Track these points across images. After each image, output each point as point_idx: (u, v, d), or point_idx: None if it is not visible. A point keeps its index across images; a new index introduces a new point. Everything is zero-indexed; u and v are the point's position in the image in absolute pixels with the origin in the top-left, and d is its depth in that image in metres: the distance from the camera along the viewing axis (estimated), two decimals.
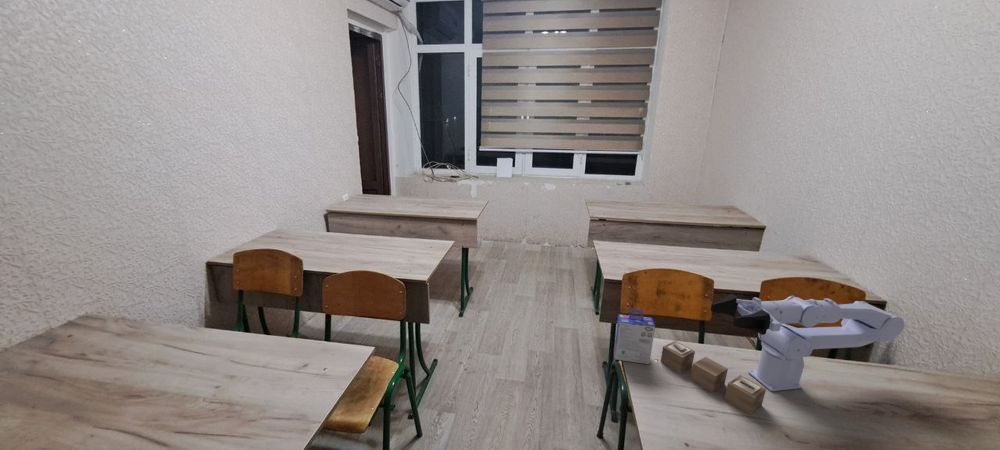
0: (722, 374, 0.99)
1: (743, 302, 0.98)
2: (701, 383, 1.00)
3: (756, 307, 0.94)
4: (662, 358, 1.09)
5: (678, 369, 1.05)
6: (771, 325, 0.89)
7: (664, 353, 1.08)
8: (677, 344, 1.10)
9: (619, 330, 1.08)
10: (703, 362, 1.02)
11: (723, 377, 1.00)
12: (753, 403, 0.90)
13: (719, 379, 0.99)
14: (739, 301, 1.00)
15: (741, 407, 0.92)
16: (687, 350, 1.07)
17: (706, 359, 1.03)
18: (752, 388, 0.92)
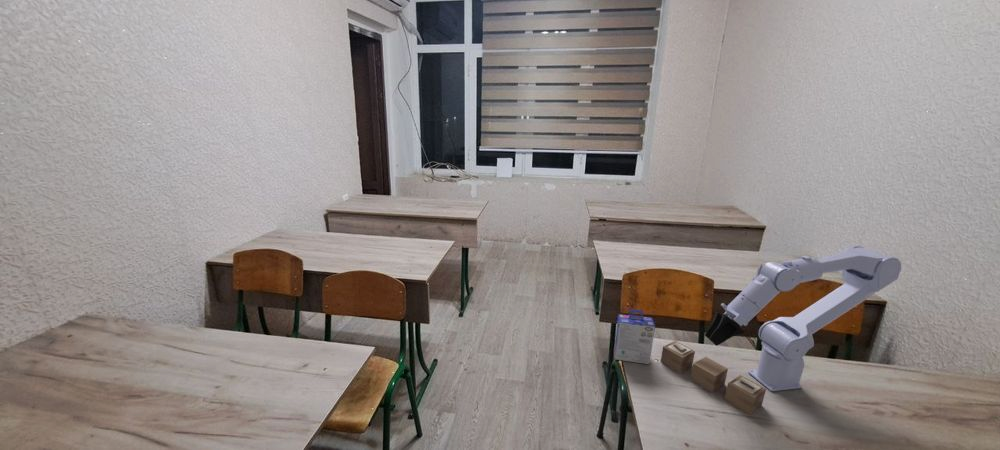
0: (722, 374, 0.99)
1: (726, 311, 1.00)
2: (701, 383, 1.00)
3: (728, 311, 0.96)
4: (662, 358, 1.09)
5: (678, 369, 1.05)
6: (736, 321, 0.90)
7: (664, 353, 1.08)
8: (677, 344, 1.10)
9: (619, 330, 1.08)
10: (703, 362, 1.02)
11: (723, 377, 1.00)
12: (753, 403, 0.90)
13: (719, 379, 0.99)
14: (727, 312, 1.01)
15: (741, 407, 0.92)
16: (687, 350, 1.07)
17: (706, 359, 1.03)
18: (752, 388, 0.92)
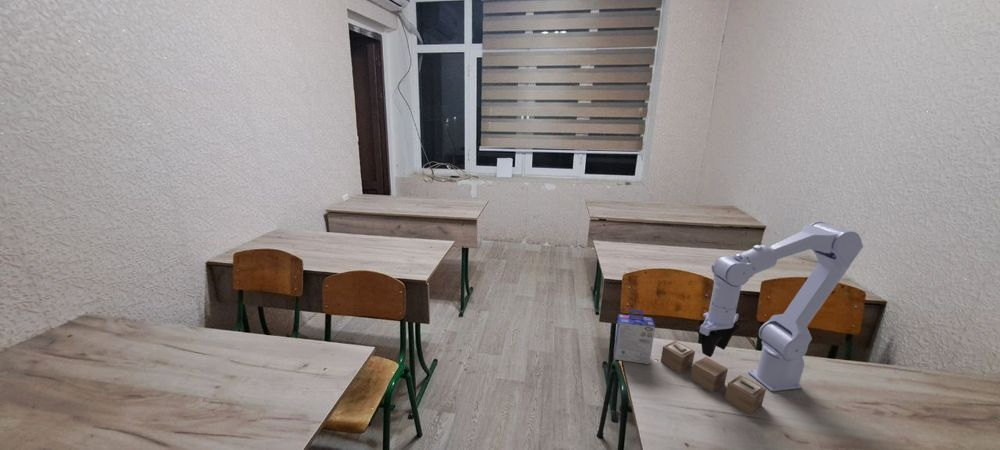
0: (722, 374, 0.99)
1: None
2: (701, 383, 1.00)
3: None
4: (662, 358, 1.09)
5: (678, 369, 1.05)
6: None
7: (664, 353, 1.08)
8: (677, 344, 1.10)
9: (619, 330, 1.08)
10: (703, 362, 1.02)
11: (723, 377, 1.00)
12: (753, 403, 0.90)
13: (719, 379, 0.99)
14: None
15: (741, 407, 0.92)
16: (687, 350, 1.07)
17: (706, 359, 1.03)
18: (752, 388, 0.92)
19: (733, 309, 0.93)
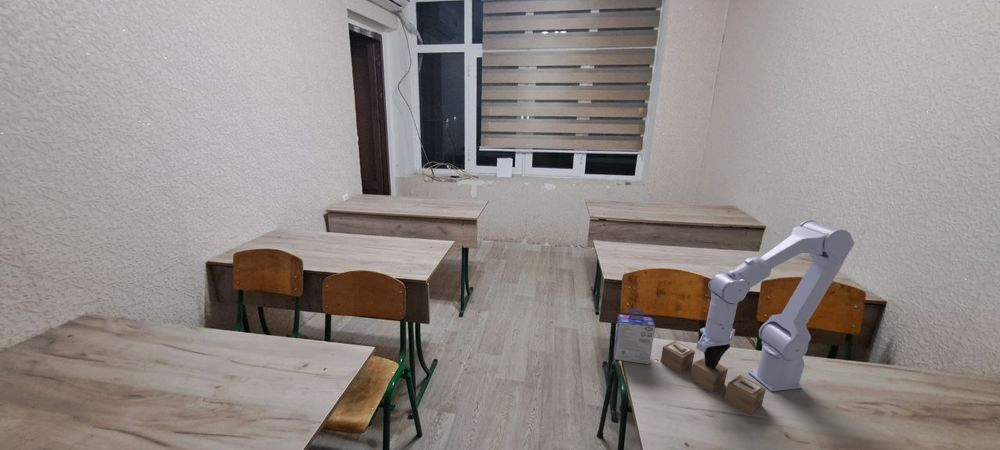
0: (722, 374, 0.99)
1: None
2: (701, 383, 1.00)
3: None
4: (662, 358, 1.09)
5: (678, 369, 1.05)
6: None
7: (664, 353, 1.08)
8: (677, 344, 1.10)
9: (619, 330, 1.08)
10: (703, 362, 1.02)
11: (723, 377, 1.00)
12: (753, 403, 0.90)
13: (719, 379, 0.99)
14: None
15: (741, 407, 0.92)
16: (687, 350, 1.07)
17: None
18: (752, 388, 0.92)
19: (729, 326, 0.94)
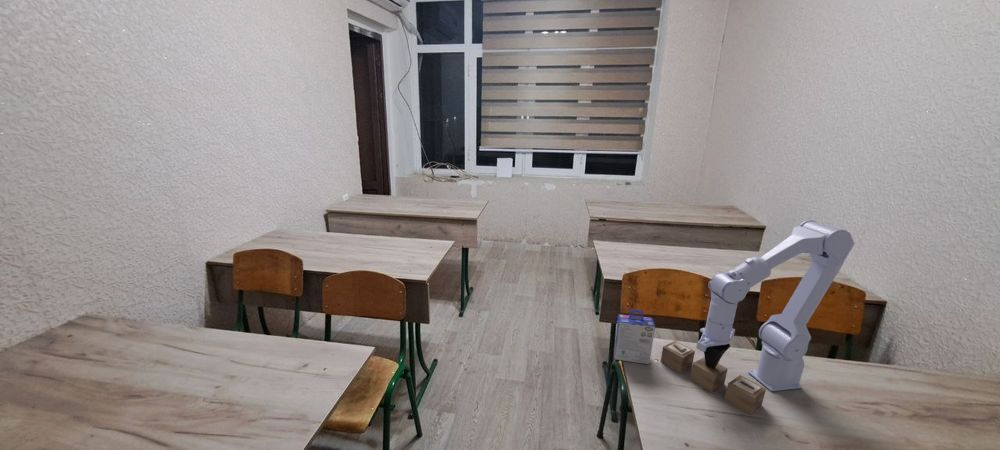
0: (722, 374, 0.99)
1: None
2: (701, 383, 1.00)
3: None
4: (662, 358, 1.09)
5: (678, 369, 1.05)
6: None
7: (664, 353, 1.08)
8: (677, 344, 1.10)
9: (619, 330, 1.08)
10: (703, 362, 1.02)
11: (723, 377, 1.00)
12: (753, 403, 0.90)
13: (719, 379, 0.99)
14: None
15: (741, 407, 0.92)
16: (687, 350, 1.07)
17: None
18: (752, 388, 0.92)
19: (729, 325, 0.94)
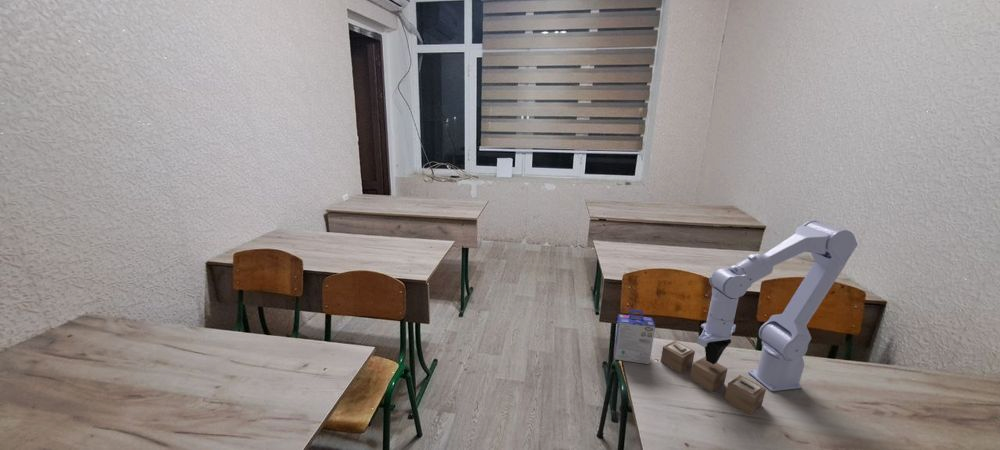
0: (722, 374, 0.99)
1: None
2: (700, 383, 1.00)
3: None
4: (662, 358, 1.09)
5: (678, 369, 1.05)
6: None
7: (664, 353, 1.08)
8: (677, 344, 1.10)
9: (619, 330, 1.08)
10: (702, 362, 1.02)
11: (723, 377, 1.00)
12: (753, 403, 0.90)
13: (719, 379, 0.99)
14: None
15: (741, 407, 0.92)
16: (687, 350, 1.07)
17: (705, 359, 1.03)
18: (752, 388, 0.92)
19: (730, 321, 0.94)
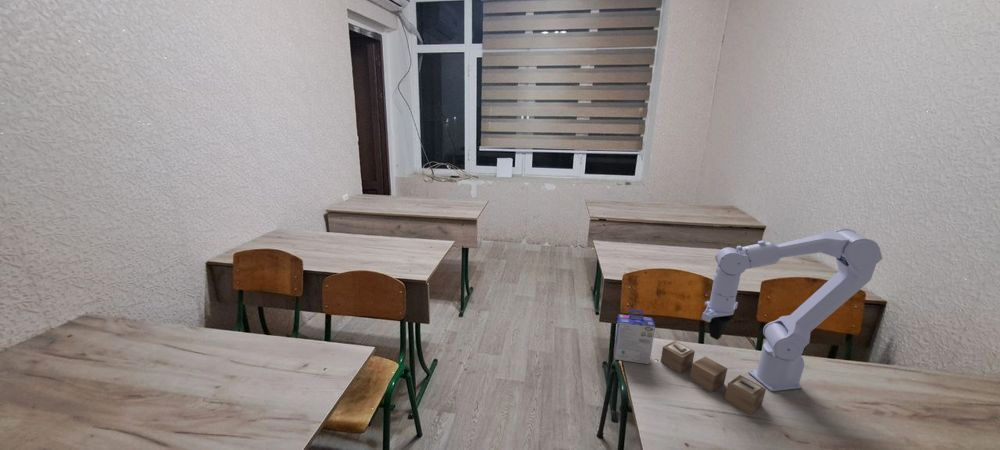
0: (721, 374, 0.99)
1: None
2: (700, 383, 1.00)
3: None
4: (662, 358, 1.09)
5: (678, 369, 1.05)
6: None
7: (664, 353, 1.08)
8: (677, 344, 1.10)
9: (619, 330, 1.08)
10: (702, 362, 1.02)
11: (722, 377, 1.00)
12: (753, 403, 0.90)
13: (719, 379, 0.99)
14: None
15: (741, 407, 0.92)
16: (687, 350, 1.07)
17: (705, 359, 1.03)
18: (752, 388, 0.92)
19: (733, 297, 0.99)
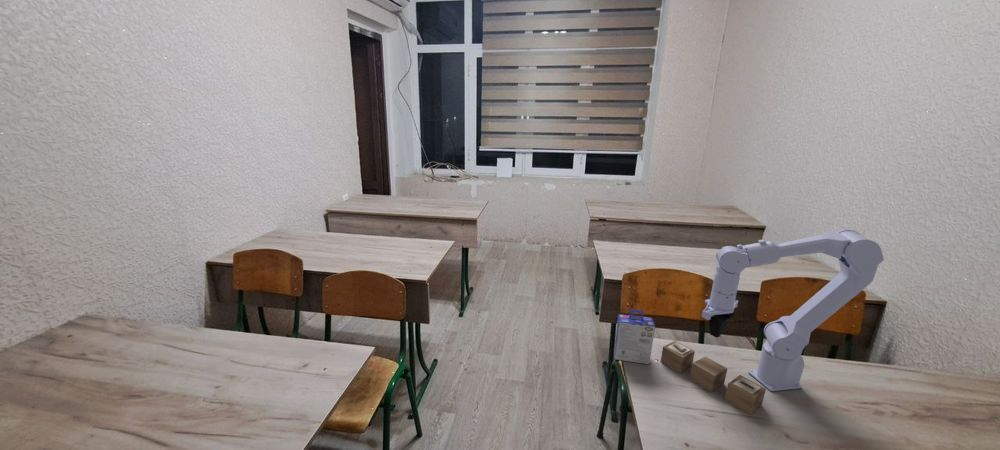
0: (721, 374, 0.99)
1: None
2: (700, 383, 1.00)
3: None
4: (662, 358, 1.09)
5: (678, 369, 1.05)
6: None
7: (664, 353, 1.08)
8: (677, 344, 1.10)
9: (619, 330, 1.08)
10: (702, 362, 1.02)
11: (722, 377, 1.00)
12: (753, 403, 0.90)
13: (719, 379, 0.99)
14: None
15: (741, 407, 0.92)
16: (687, 350, 1.07)
17: (705, 359, 1.03)
18: (752, 388, 0.92)
19: (733, 295, 0.99)
